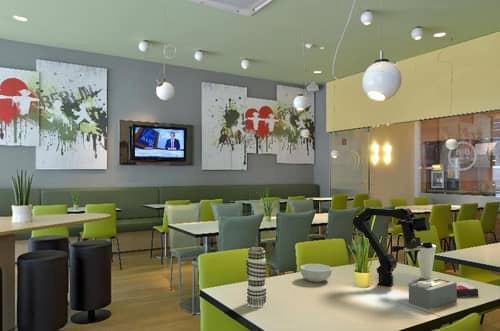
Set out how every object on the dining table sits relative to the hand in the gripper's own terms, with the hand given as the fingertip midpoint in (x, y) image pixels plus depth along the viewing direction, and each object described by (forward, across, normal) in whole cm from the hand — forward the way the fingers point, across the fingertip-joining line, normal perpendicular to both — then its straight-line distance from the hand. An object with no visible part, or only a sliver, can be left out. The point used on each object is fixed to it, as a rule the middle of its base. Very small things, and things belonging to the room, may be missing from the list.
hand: (415, 264), depth 192 cm
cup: (+10, +5, +30) cm, 32 cm away
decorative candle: (+6, -69, -43) cm, 82 cm away
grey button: (+9, +1, -19) cm, 21 cm away
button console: (+15, +4, -13) cm, 21 cm away
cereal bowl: (+4, -51, +5) cm, 51 cm away
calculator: (+16, +16, +4) cm, 23 cm away
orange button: (+11, +9, -8) cm, 16 cm away
